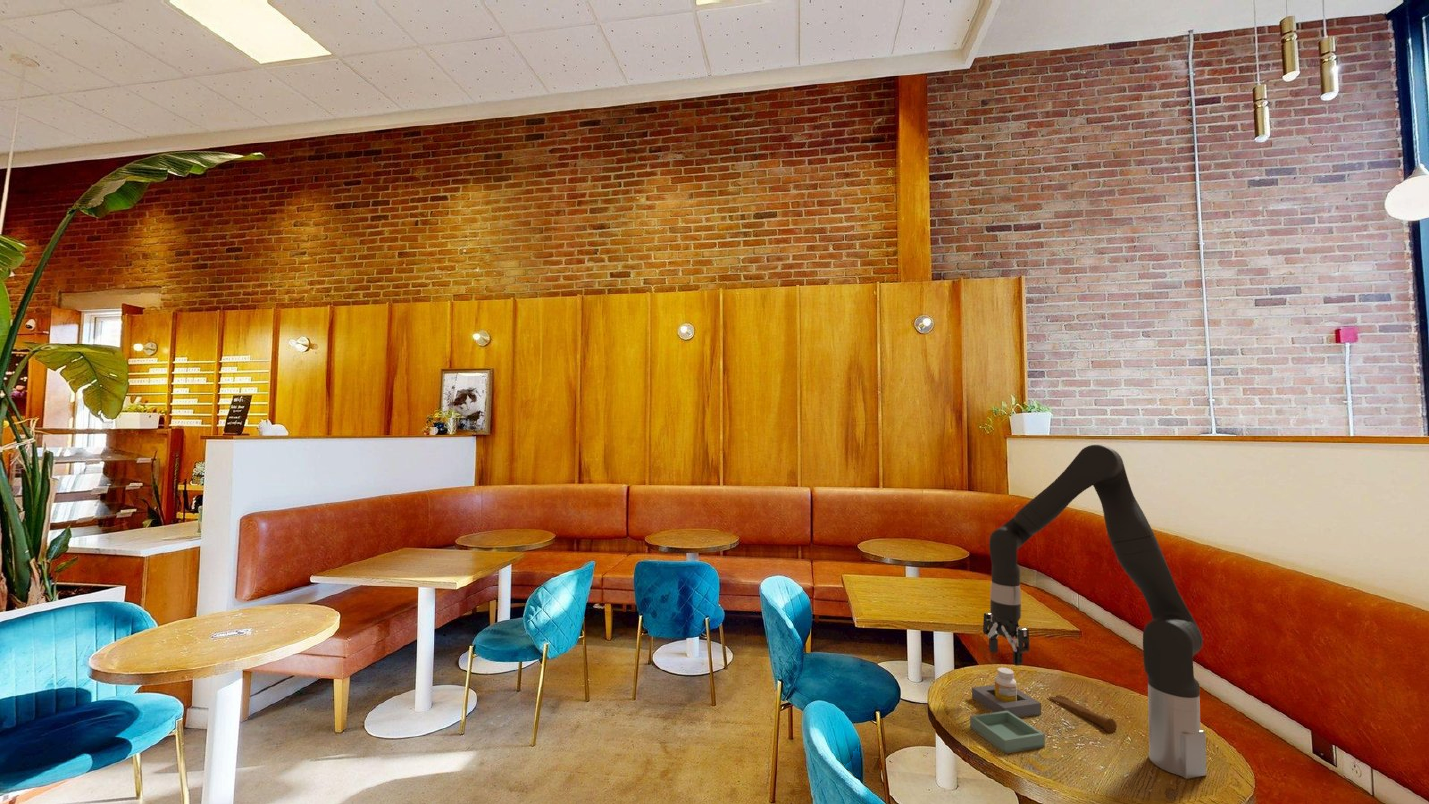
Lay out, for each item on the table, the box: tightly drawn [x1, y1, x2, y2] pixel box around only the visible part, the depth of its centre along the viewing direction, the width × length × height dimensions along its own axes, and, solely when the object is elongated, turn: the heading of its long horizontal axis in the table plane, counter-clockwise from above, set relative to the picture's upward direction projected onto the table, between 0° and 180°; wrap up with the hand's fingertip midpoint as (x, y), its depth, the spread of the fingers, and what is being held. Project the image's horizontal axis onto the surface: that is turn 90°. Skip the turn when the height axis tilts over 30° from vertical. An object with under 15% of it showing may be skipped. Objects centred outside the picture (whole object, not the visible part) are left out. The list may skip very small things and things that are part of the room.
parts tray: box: [969, 711, 1046, 754], centre depth 138 cm, size 12×12×3 cm
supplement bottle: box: [994, 667, 1018, 702], centre depth 154 cm, size 5×5×10 cm
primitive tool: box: [1048, 694, 1118, 733], centre depth 150 cm, size 19×6×4 cm, turn 14°
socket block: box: [971, 684, 1042, 719], centre depth 153 cm, size 12×12×3 cm
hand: (1005, 658), depth 154 cm, fingers open, 8 cm apart
